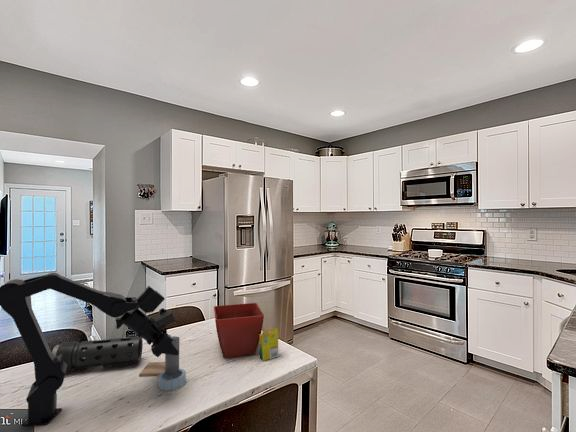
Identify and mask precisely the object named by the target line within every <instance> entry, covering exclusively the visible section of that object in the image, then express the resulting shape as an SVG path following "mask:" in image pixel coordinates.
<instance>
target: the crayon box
mask: <svg viewBox="0 0 576 432" xmlns="http://www.w3.org/2000/svg"><path fill="white" fill-rule="evenodd" d="M278 328H279V327H275V328H271V329H267V330H263V331H261V334H259V343H258V347H259V360H260V359H261V360H260V361H262V362H265V361H268V359H269V360H272V359H275V357H276V358H278V357H279V329H278ZM277 356H278V357H277Z"/></svg>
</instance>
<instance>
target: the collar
mask: <svg viewBox="0 0 576 432" xmlns="http://www.w3.org/2000/svg"><path fill="white" fill-rule="evenodd" d="M186 373H187V371H186V370H185V369H183V368H180V367H179V372H178V373H177V374H175V375H166V374H165V371H164V372H162V373H160V375H159V376H157V386H158V389H160V390H162V391H166V392H167V391H174V390H177V389H180V388H182V387H183V386H184V385H185V384H186V382H187V379H186V378H187V374H186Z"/></svg>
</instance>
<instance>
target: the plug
mask: <svg viewBox="0 0 576 432" xmlns="http://www.w3.org/2000/svg"><path fill="white" fill-rule="evenodd" d="M171 337H172V339H173V341H172V342H171V343H172V344H173V345H174V346H175V348H176V349H177V350H178V351H179V352H180V337H179V336H176V335H175V336H171ZM164 362H165V374H166V375H175V374H177V373H178V372H179V368H180V353H179V354H178V355H171V354H164Z"/></svg>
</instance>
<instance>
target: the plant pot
mask: <svg viewBox="0 0 576 432" xmlns="http://www.w3.org/2000/svg"><path fill="white" fill-rule="evenodd" d="M213 312H214V319H215V320H214V321H215V322H214V323H215V327H216V329H215V330H216V333H217V339H218V343H219V347H220V351H221V354H222V357H223V358H224V359H228V358H235V357H236V358H237V357H242V356H243V357H244V356H252V355H255V354H256V353H257V351H258V350H257V349H258V347H259V334H262V330H263V325H264V318H265V314H264V313H263V311H262V310H261V308H260V307H259V305H258V303H257V302H248V303H237V304H236V303H235V304H226V305H225V304H224V305H223V304H222V305H214V306H213Z"/></svg>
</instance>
